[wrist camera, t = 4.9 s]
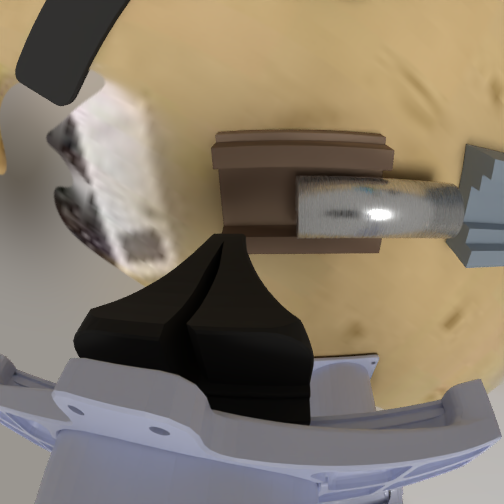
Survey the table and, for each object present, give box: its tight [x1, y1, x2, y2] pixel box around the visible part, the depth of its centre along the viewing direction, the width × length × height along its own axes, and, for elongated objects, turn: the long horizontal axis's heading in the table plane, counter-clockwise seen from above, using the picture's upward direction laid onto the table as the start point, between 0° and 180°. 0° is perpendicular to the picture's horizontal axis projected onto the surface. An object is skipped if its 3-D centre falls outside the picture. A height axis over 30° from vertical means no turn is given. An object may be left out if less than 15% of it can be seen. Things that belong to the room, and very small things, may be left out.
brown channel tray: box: [211, 130, 394, 254], centre depth 18 cm, size 8×10×2 cm
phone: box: [15, 0, 130, 106], centre depth 12 cm, size 7×1×15 cm
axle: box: [295, 176, 464, 238], centre depth 16 cm, size 10×4×4 cm, turn 93°
